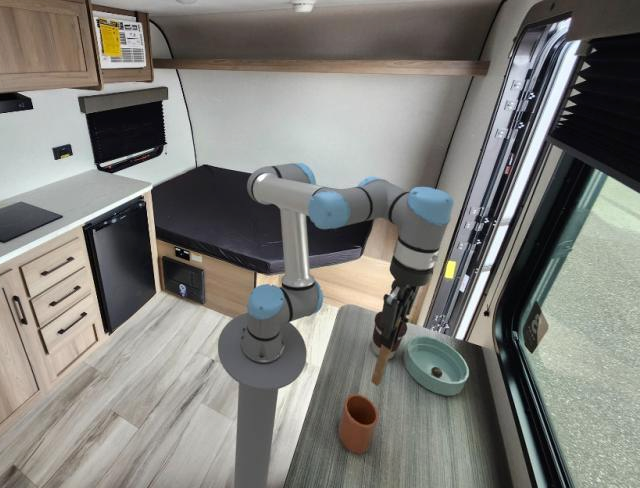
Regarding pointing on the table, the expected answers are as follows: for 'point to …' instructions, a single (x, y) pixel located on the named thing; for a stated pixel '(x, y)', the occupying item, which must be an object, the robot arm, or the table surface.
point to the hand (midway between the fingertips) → (387, 342)
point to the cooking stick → (382, 362)
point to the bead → (436, 372)
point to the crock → (357, 423)
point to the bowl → (436, 365)
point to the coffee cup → (377, 334)
